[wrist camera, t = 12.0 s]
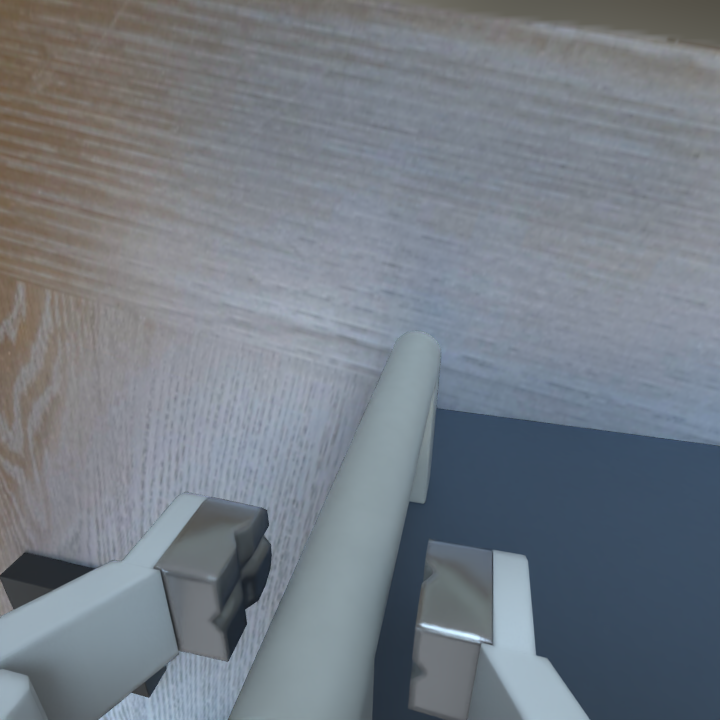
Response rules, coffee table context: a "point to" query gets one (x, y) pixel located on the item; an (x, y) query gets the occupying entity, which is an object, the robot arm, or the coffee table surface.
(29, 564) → the control block
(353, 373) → the coffee table surface
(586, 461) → the cupboard door
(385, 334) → the coffee table surface
